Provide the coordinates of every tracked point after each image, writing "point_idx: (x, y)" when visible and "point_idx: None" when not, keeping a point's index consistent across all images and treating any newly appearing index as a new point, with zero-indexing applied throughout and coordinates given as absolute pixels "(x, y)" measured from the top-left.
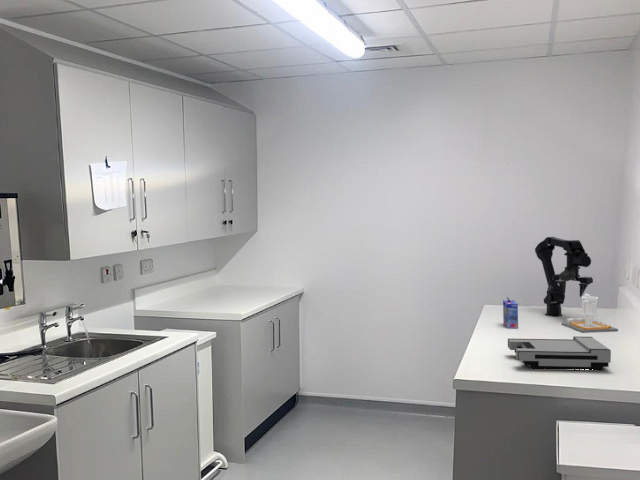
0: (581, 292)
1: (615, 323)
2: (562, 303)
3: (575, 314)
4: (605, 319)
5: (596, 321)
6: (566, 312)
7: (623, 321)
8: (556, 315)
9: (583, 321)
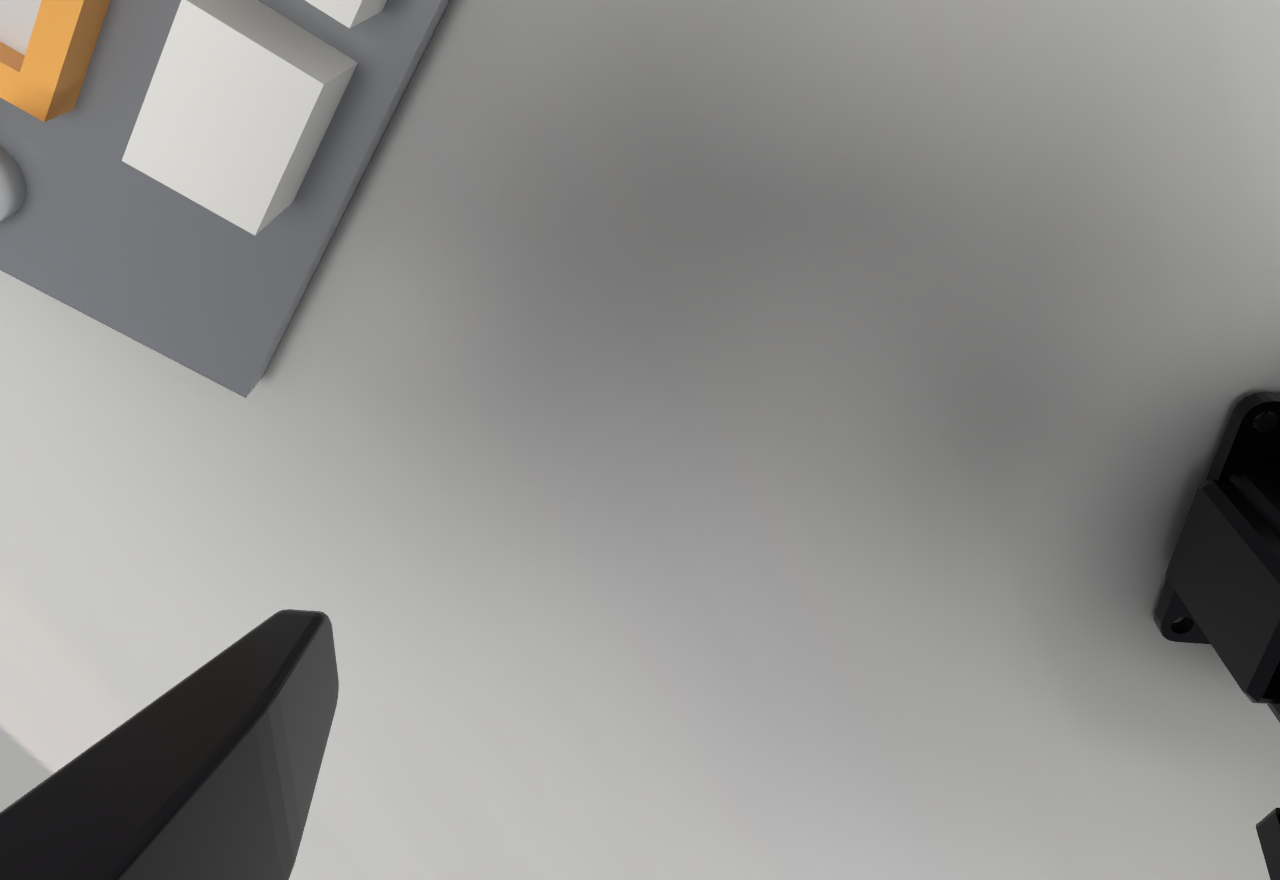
0: (62, 774)
1: (40, 600)
2: (1277, 817)
3: (960, 823)
4: (370, 774)
5: (207, 377)
6: (1160, 870)
7: None
8: (1239, 444)
9: (294, 32)
